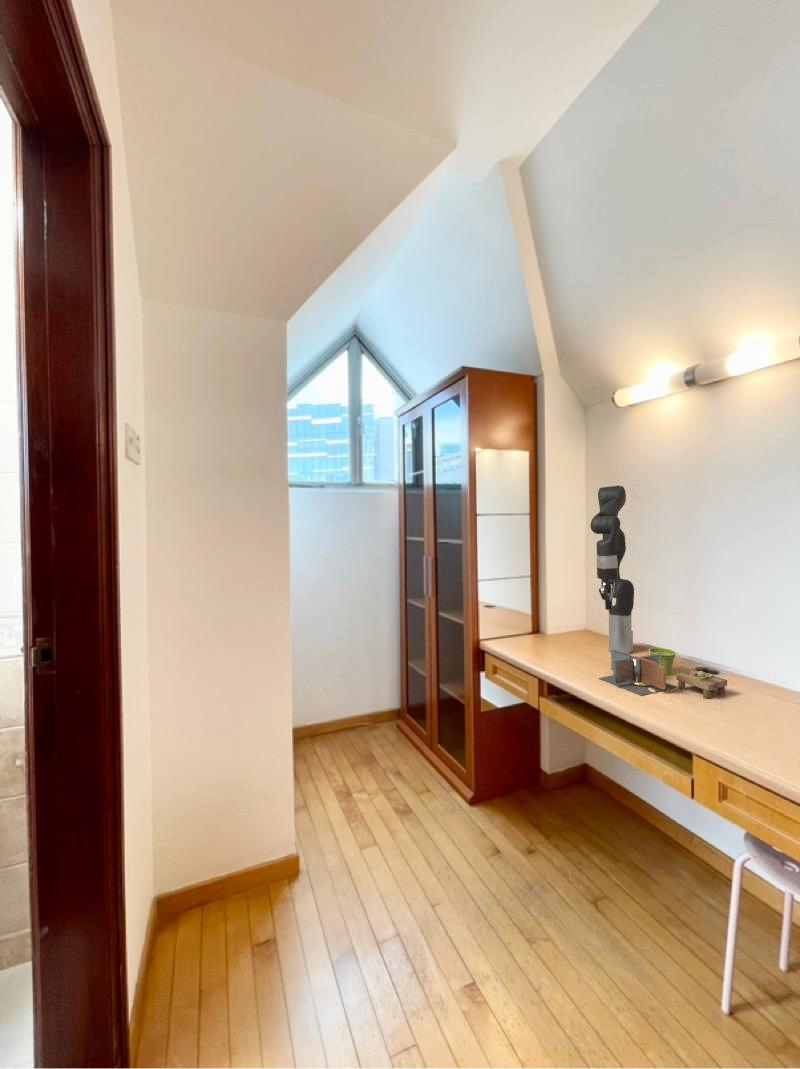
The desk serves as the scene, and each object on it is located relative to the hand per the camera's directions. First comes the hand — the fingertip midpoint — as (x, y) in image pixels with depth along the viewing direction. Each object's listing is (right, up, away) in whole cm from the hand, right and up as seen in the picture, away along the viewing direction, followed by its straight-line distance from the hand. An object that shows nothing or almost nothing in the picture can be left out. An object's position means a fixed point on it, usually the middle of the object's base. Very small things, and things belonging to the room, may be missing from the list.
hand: (608, 609), depth 174 cm
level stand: (+22, -25, -21) cm, 40 cm away
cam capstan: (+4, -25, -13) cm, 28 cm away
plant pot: (+20, -25, -3) cm, 32 cm away
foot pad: (+4, -25, -13) cm, 28 cm away
